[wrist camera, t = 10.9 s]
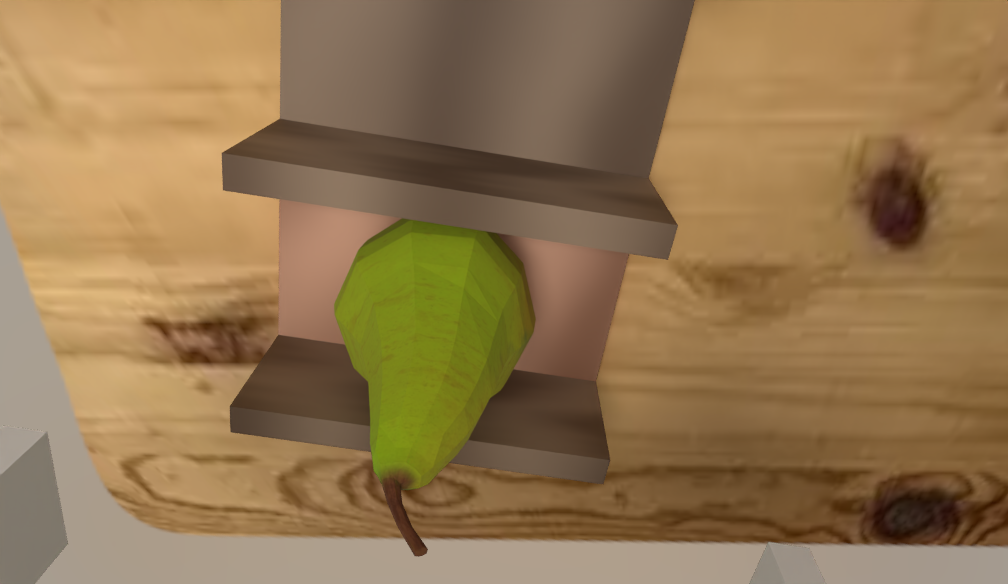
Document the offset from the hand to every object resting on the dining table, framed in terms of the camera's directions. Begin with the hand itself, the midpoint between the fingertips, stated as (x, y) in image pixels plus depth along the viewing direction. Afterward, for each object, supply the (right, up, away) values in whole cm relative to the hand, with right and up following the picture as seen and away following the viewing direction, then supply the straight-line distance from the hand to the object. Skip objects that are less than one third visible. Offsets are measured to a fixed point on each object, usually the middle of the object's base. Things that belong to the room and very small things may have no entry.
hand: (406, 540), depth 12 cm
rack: (+1, +9, +11) cm, 14 cm away
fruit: (0, +5, +11) cm, 12 cm away
